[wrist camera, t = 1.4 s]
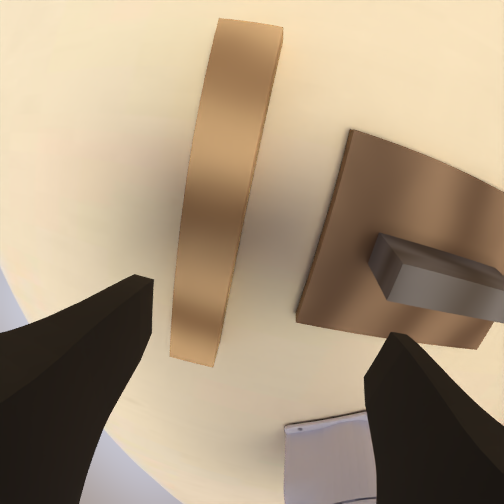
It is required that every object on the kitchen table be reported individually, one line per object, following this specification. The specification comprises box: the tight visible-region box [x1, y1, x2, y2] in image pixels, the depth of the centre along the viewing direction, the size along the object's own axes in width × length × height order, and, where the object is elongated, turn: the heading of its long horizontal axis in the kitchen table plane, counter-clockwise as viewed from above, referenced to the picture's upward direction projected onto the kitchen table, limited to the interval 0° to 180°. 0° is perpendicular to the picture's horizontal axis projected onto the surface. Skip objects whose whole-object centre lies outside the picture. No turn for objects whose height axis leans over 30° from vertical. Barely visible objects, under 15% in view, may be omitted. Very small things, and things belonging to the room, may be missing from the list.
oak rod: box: [170, 18, 283, 367], centre depth 17 cm, size 20×3×3 cm, turn 168°
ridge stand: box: [296, 129, 504, 350], centre depth 15 cm, size 16×12×5 cm
